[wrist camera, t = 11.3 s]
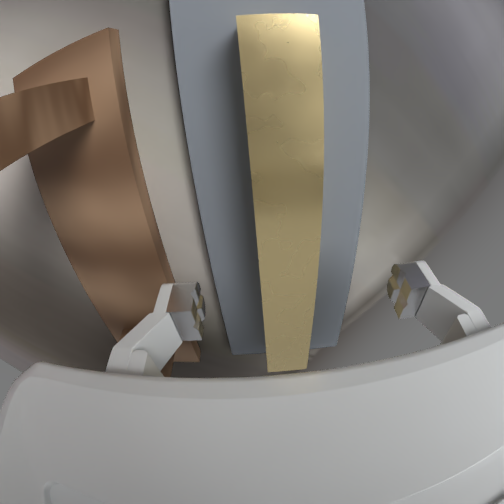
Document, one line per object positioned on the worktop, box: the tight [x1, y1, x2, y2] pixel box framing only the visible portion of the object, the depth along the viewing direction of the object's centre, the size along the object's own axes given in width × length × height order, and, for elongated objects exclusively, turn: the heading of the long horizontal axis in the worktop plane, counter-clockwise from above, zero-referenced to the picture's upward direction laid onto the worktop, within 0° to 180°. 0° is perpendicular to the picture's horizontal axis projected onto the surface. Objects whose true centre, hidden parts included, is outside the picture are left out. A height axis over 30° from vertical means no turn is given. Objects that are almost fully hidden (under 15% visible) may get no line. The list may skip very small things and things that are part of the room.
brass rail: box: [236, 13, 324, 372], centre depth 15 cm, size 22×3×2 cm, turn 5°
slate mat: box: [169, 0, 370, 355], centre depth 15 cm, size 26×9×1 cm, turn 5°
